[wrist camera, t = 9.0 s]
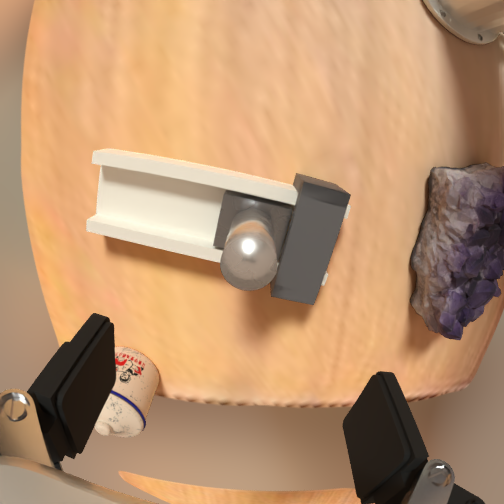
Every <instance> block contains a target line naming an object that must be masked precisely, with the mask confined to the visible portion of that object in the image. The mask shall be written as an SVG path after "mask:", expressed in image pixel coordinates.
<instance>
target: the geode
mask: <svg viewBox="0 0 504 504" xmlns="http://www.w3.org/2000/svg"><path fill="white" fill-rule="evenodd" d="M428 186H429V203H428V212H427V213H426V215H425V217H424V219H423V222H422V224H421V230H420V233H419V236H418V240H417V242H416V244H415V246H414V248H413V252H412V255H411V267H412V269H413V270H415V271H416V272H417V279H416V289H415V291H414V293H413V295H412V297H411V299H410V303H411V305H412V307H413V308H415V311H416V313H417V314H419V315H421V316H422V317H423V319H424V322H425V324H426V326H427V327H428V330H430V331H431V330H432V331H434V332H435V333H438V332H439V333H440V334H441V335H443V336H444V337H446V338H449V339H455V340H460V339H461V337H462V334H463V327H466V326H467V325H468V323H469V322H470V321H471V322H473V321H475V320H476V319H477V318H478V317H479V316H480V315H482V314H483V312H484V306H485V305H486V304H487V303H488V302H489V301H490V300H491V299H492V297H493V296H495V297H499V296H500V294H501V291H500V289H499V287H498V283H497V280H496V279H499V278H500V276H502V275H503V271H502V270H504V166H503V167H501V168H497V167H494V166H491V165H489V164H488V163H486V162H485V163H483V164H477V165H470V166H469V167H466V168H461V169H459V168H449V167H438V168H436V167H433V168H432V169H431V172H430V177H429V181H428Z"/></svg>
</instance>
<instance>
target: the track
mask: <svg viewBox="0 0 504 504" xmlns="http://www.w3.org/2000/svg"><path fill="white" fill-rule="evenodd" d="M92 164H98V165H101V168H100V176H99V186H98V196H97V208H96V215H94V216H92V217H90V218H89V219H87V227H86V231H88V232H92V233H96V234H101V235H105V236H109V237H113V238H117V239H121V240H125V241H129V242H133V243H138V244H142V245H146V246H150V247H154V248H158V249H163V250H167V251H171V252H175V253H180V254H184V255H188V256H193V257H197V258H201V259H206V260H210V261H214V262H219V263H220V260H221V256H222V253H223V249H224V248H221V247H216V246H213V243H214V238H215V233H216V228H217V224H218V219H219V214H220V209H221V205H222V200H223V195H224V193H225V191H226V190H230V191H234V192H239V193H243V194H247V195H252V196H256V197H260V198H264V199H269V200H273V201H277V202H281V203H285V204H289V205H291V207H292V209H293V211H292V214H291V218H290V219H291V222H290V225H289V229H288V232H287V236H286V239H285V243H284V246H283V247H282V250H281V253H280V257H279V260H277V272H276V274H275V276H274V278H273V279H272V281H271V282H270V285H271V296H272V297H276V298H281V299H286V300H291V301H296V302H301V303H306V304H311V305H314V303H315V300H316V297H317V295H318V292H319V289H320V286H321V285H323V286H324V285H325V282H326V279H327V276H328V273H327V271H326V269H327V267H328V264H329V261H330V258H331V255H332V252H333V249H334V246H335V243H336V240H337V237H338V234H339V231H340V228H341V225H342V222H343V218H345V219H347V217H348V214H349V211H350V208H351V206H350V205H349V204H348V202H349V199H350V196H351V195H350V194H349V193H347V192H346V191H345V190H343V189H342V188H340V187H339V186H337V185H336V184H333V183H330V182H326V181H323V180H319V179H316V178H312V177H308V176H305V175H301V174H297V173H296V176H295V180H294V183H293V185H290V184H287V183H283V182H279V181H275V180H270V179H266V178H262V177H258V176H254V175H249V174H245V173H240V172H236V171H231V170H227V169H222V168H218V167H213V166H208V165H203V164H198V163H193V162H188V161H183V160H177V159H172V158H166V157H161V156H155V155H149V154H143V153H137V152H131V151H124V150H117V149H110V148H109V149H102V150H96V151H93V157H92Z"/></svg>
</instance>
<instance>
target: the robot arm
mask: <svg viewBox="0 0 504 504" xmlns="http://www.w3.org/2000/svg"><path fill="white" fill-rule="evenodd" d="M423 2H424V3H425V5H426V6H427V8H428V9H429V11H430V12H431V13H432V14H433V16H434V17H435V18H436V19H437V20H438V21H439V22H440V23H441V24H442V25H443V26H444V27H445V28H446V29H447V30H448V31H450V32H451V33H452V34H454V35H455V36H457V37H458V38H460V39H462V40H464V41H466V42H469V43H472V44H478V45H482V44H487V43H490V42H492V41H494V40H495V39H496V38H497V36H498V35H499V32H502V33H503V34H504V0H423ZM115 382H116V363H115V343H114V324H113V323H111V322H110V319H109V318H108V317H106V316H102V315H99V314H96V313H93V314H92V315H91V316H90V317H89V319H88V320H87V321H86V322H85V324H84V325H83V326H82V327H81V329H80V330H79V331H78V332H77V334H76V335H75V336H74V338H73V339H72V340H71V341H70V342H65V343H64V344H63V345H62V346H61V347H60V348H59V349H58V351H57V352H56V353H55V355H54V356H53V357H52V359H51V360H50V361H49V362H48V364H47V365H46V367H45V368H44V370H43V371H42V372H41V373H40V375H39V376H38V377H37V379H36V380H35V381H34V383H33V384H32V386H31V387H30V388H29V390H28V391H27V393H26V392H25V391H23V390H19V389H8V390H5V391H3V392H2V393H0V504H158V503H154V502H150V501H147V500H143V499H139V498H136V497H132V496H130V495H126V494H123V493H120V492H117V491H114V490H111V489H108V488H105V487H102V486H99V485H97V484H94V483H91V482H89V481H86V480H84V479H81V478H79V477H76V476H73V475H71V474H68V473H65V472H64V471H63V468H62V465H61V463H60V461H63V458H64V456H65V455H66V456H68V457H71V458H73V459H74V458H75V456H76V454H77V453H79V454H81V453H82V452H83V449H84V447H85V445H86V443H87V440H88V439H89V436H90V434H91V432H92V430H93V428H94V426H95V424H96V422H97V420H98V417H99V415H100V413H101V411H102V409H103V407H104V405H105V403H106V401H107V399H108V397H109V395H110V393H111V391H112V389H113V387H114V385H115ZM343 430H344V435H345V439H346V444H347V449H348V454H349V459H350V464H351V469H352V474H353V479H354V483H355V489H356V494H357V497H358V498H360V499H361V504H371V503H375V504H485V503H484V502H483V500H481V499H480V498H479V497H477V496H475V495H474V494H472V493H470V492H468V491H466V490H465V489H463V488H461V487H460V486H458V485H456V484H455V483H454V479H455V476H454V472H453V470H452V468H451V467H450V465H449V464H448V463H446V462H445V461H442V460H439V459H434V460H430V461H429V462H428V460H427V457H428V456H429V455H428V452H427V450H426V447H425V445H424V442H423V440H422V437H421V435H420V432H419V430H418V428H417V425H416V422H415V420H414V418H413V415H412V413H411V411H410V408H409V406H408V404H407V401H406V399H405V397H404V394H403V392H402V390H401V388H400V385H399V383H398V381H397V379H396V377H395V375H394V373H392V372H381V371H380V372H377V373H376V375H373V376H372V377H371V378H370V380H369V382H368V383H367V385H366V387H365V388H364V390H363V391H362V393H361V394H360V396H359V398H358V399H357V401H356V402H355V404H354V405H353V407H352V408H351V410H350V411H349V413H348V414H347V416H346V417H345V419H344V421H343Z"/></svg>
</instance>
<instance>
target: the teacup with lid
mask: <svg viewBox="0 0 504 504" xmlns="http://www.w3.org/2000/svg"><path fill="white" fill-rule="evenodd" d="M115 363H116V382H115V385H114V387H113V389H112V391H111V393H110V395H109V397H108V399H107V401H106V403H105V405H104V407H103V409H102V411H101V413H100V415H99V417H98V420H97V422H96V424H95V429H96V431H97V432H99V433H100V434H102V435H105V436H107V435H110V434H112V435H115V436H119V437H133V436H136V435H138V434H140V433H141V432H142V431H143V429H144V428H145V425H146V421H145V420H146V417H147V414H148V411H149V408H150V405H151V403H152V400H153V397H154V394H155V391H156V389H157V386H158V383H159V374H158V371H157V368H156V367H155V365H154V364H153V363H152V361H151V360H150V359H149V358H147V357H146V356H145V355H143V354H142V353H140V352H138V351H136V350H134V349H131V348H128V347H115Z"/></svg>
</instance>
